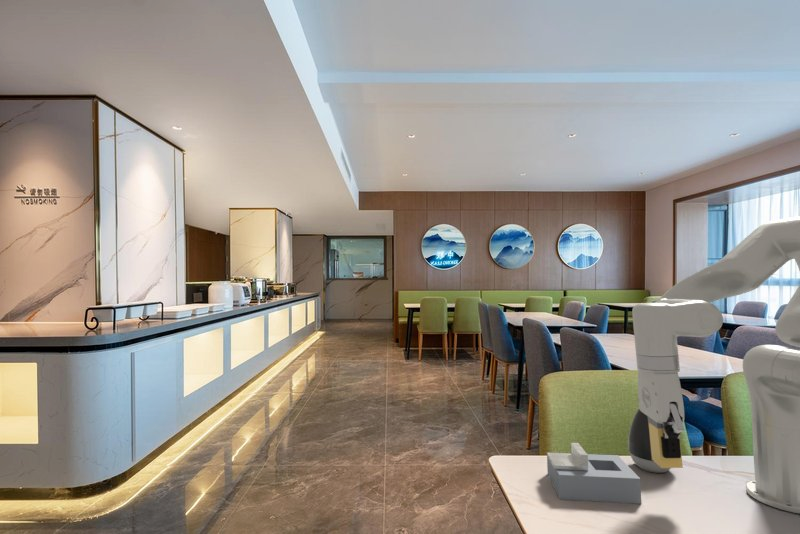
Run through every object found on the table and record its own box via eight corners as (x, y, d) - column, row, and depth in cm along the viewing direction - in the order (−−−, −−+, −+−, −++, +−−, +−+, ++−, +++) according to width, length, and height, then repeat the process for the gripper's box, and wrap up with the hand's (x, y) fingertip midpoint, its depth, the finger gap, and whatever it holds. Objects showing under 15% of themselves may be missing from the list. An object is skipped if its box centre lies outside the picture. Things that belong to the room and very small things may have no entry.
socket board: (618, 477, 97) (617, 455, 97) (641, 503, 85) (640, 478, 85) (547, 473, 99) (546, 452, 99) (560, 499, 87) (559, 474, 87)
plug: (672, 459, 87) (667, 410, 87) (683, 467, 83) (678, 416, 83) (651, 459, 87) (647, 411, 88) (661, 468, 83) (656, 417, 84)
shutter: (578, 457, 96) (578, 442, 96) (588, 470, 89) (587, 454, 89) (547, 456, 97) (546, 441, 97) (554, 469, 90) (553, 453, 90)
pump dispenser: (686, 479, 95) (683, 412, 96) (636, 475, 98) (634, 410, 98) (667, 461, 105) (664, 400, 106) (622, 458, 108) (620, 398, 108)
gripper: (622, 356, 95) (629, 438, 94) (657, 371, 78) (666, 471, 77) (657, 355, 94) (665, 437, 93) (700, 370, 77) (710, 470, 76)
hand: (665, 451), depth 85 cm, fingers closed on plug, 4 cm apart
